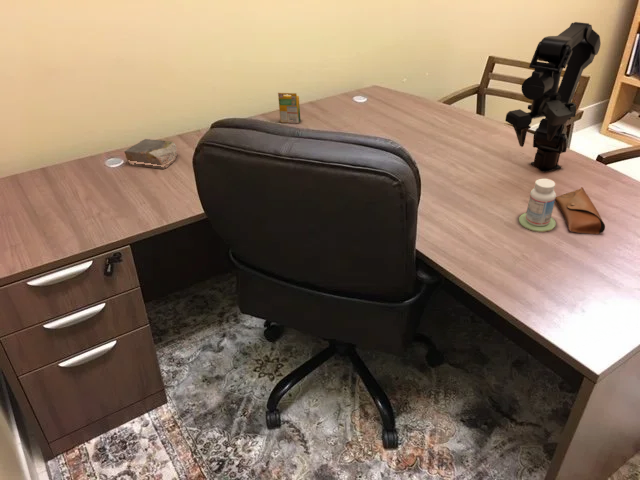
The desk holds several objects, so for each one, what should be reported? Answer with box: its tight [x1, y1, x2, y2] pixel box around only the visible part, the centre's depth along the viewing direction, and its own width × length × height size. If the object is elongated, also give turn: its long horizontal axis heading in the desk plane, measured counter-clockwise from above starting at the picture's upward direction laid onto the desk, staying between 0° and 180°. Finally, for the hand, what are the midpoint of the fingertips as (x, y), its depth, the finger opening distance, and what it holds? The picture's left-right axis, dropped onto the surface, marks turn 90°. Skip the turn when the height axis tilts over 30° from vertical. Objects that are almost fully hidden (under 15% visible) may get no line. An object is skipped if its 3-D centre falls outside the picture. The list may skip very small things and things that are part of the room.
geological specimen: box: [123, 138, 178, 170], centre depth 180 cm, size 11×6×15 cm
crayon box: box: [277, 92, 301, 124], centre depth 201 cm, size 7×3×12 cm, turn 77°
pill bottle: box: [525, 178, 557, 226], centre depth 136 cm, size 6×6×11 cm
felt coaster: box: [518, 212, 557, 233], centre depth 140 cm, size 9×9×1 cm
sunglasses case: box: [555, 186, 606, 235], centre depth 141 cm, size 18×7×7 cm, turn 175°
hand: (535, 143), depth 149 cm, fingers open, 9 cm apart
